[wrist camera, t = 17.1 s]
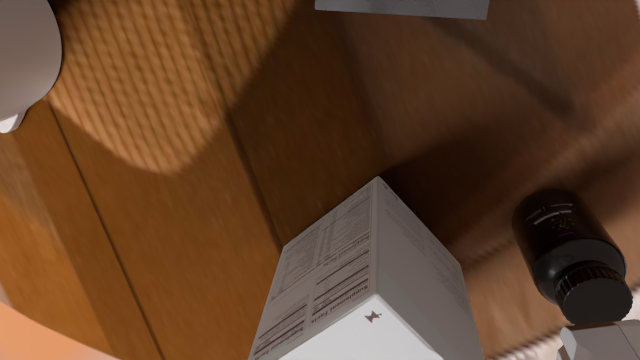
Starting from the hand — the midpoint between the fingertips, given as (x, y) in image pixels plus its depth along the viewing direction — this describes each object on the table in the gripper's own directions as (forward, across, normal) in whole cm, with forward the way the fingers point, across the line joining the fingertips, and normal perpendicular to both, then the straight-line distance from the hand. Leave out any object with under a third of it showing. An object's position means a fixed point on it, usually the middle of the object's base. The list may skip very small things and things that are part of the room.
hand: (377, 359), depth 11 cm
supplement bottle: (+29, -17, +22) cm, 40 cm away
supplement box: (+30, 0, +25) cm, 39 cm away
